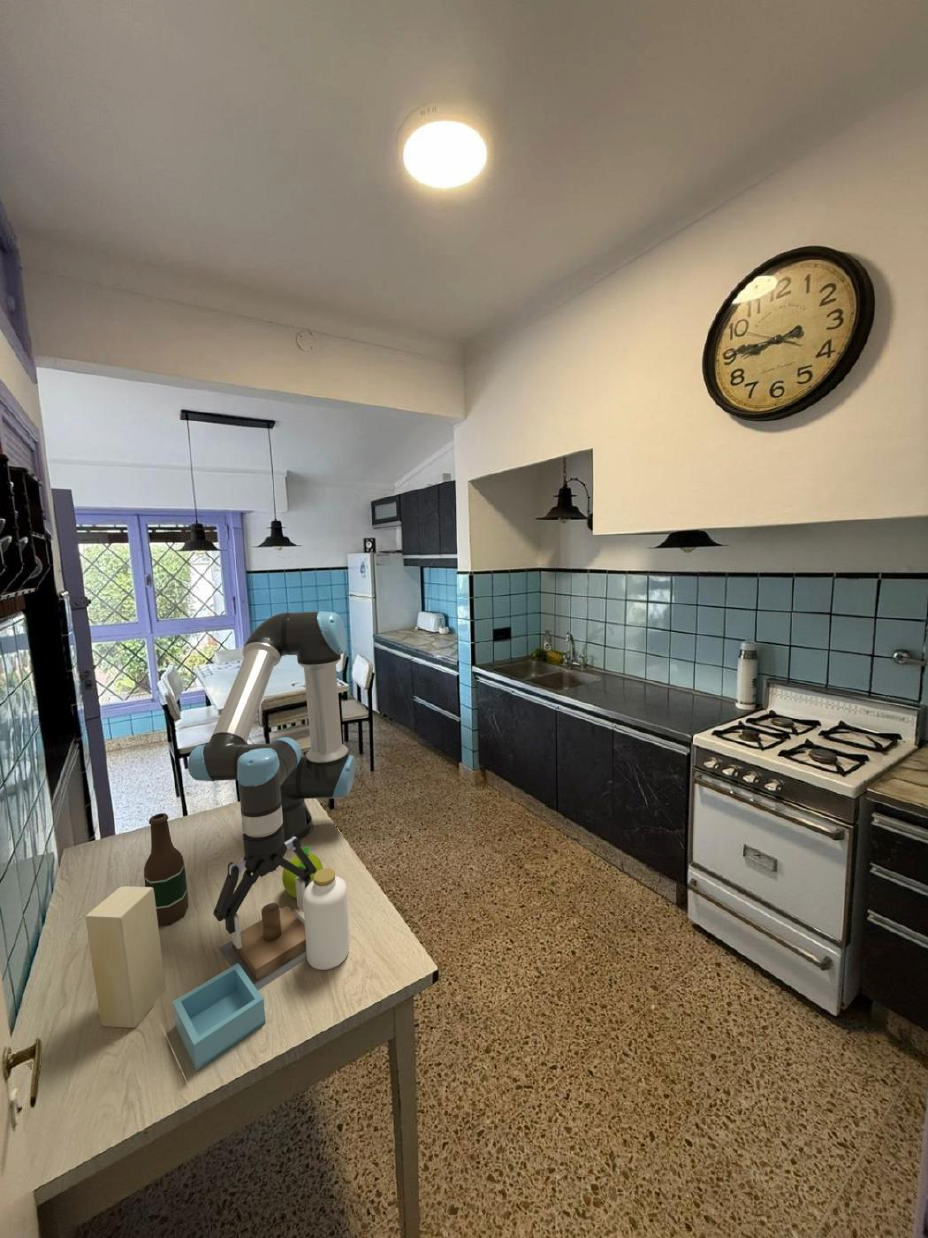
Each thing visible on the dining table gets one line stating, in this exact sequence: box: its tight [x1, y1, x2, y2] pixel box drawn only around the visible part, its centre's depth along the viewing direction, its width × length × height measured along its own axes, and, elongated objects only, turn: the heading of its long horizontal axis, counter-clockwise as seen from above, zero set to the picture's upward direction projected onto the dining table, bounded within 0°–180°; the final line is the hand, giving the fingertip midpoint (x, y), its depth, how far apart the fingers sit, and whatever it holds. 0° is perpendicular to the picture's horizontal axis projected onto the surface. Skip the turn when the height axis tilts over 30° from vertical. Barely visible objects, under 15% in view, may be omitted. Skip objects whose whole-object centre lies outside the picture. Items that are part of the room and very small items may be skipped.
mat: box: [218, 907, 307, 991], centre depth 102 cm, size 16×16×1 cm
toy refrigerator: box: [85, 885, 167, 1029], centre depth 88 cm, size 8×7×21 cm
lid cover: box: [232, 902, 306, 981], centre depth 102 cm, size 12×12×8 cm
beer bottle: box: [143, 812, 190, 928], centre depth 111 cm, size 8×8×24 cm
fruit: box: [281, 846, 324, 899], centre depth 118 cm, size 9×9×10 cm
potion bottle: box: [303, 867, 350, 971], centre depth 98 cm, size 8×8×18 cm
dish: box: [172, 963, 267, 1072], centre depth 85 cm, size 11×11×5 cm
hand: (271, 926), depth 101 cm, fingers open, 13 cm apart
